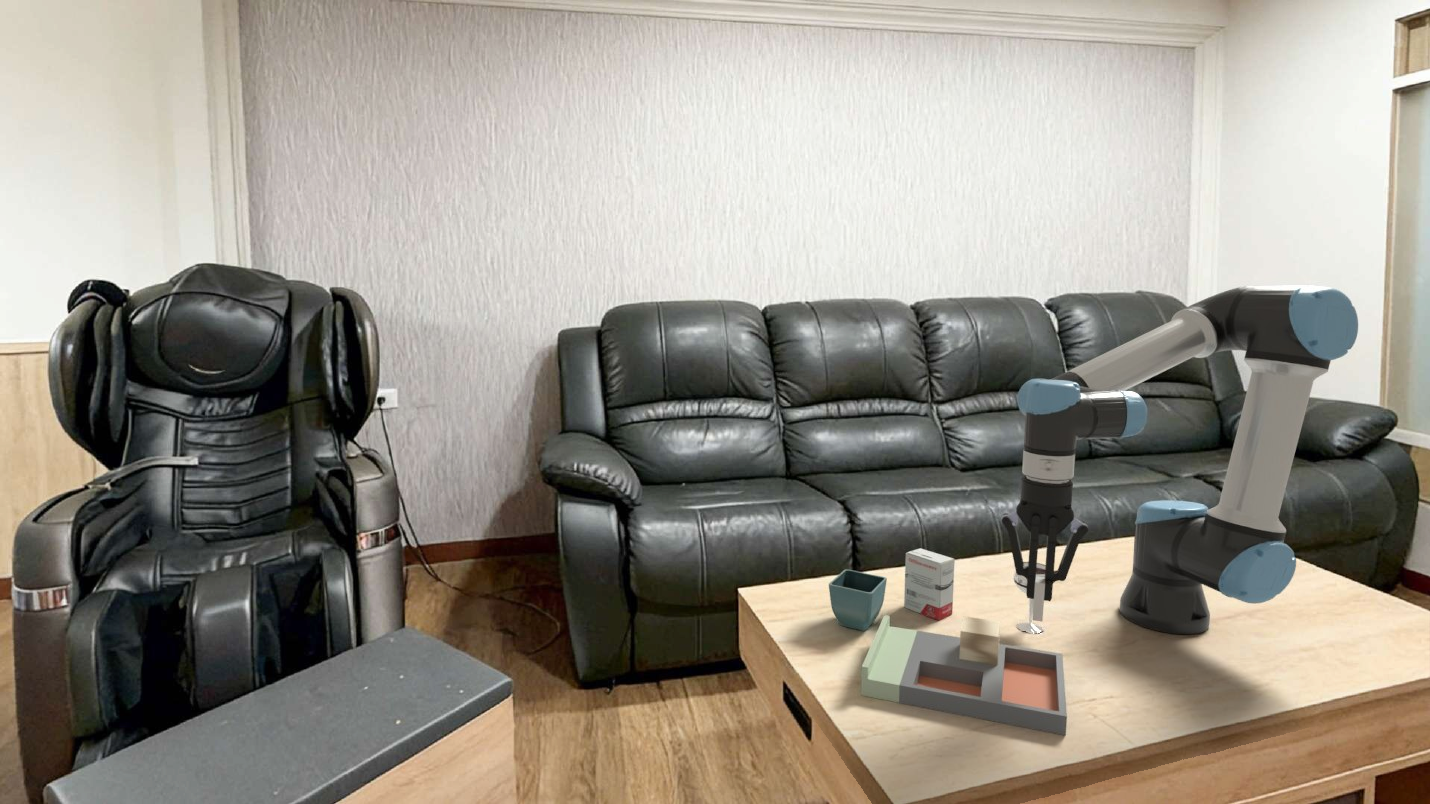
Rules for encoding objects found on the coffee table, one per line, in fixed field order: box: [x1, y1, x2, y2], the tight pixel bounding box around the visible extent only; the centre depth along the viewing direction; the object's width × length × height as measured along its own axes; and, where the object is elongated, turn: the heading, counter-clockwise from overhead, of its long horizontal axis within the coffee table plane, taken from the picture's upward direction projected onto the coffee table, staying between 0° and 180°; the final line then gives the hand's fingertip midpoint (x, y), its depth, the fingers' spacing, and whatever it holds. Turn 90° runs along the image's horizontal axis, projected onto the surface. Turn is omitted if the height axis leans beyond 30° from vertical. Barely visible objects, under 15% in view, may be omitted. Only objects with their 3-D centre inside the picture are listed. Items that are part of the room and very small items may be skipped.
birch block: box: [959, 616, 1001, 665], centre depth 128 cm, size 6×6×5 cm
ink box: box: [903, 547, 955, 621], centre depth 152 cm, size 8×5×12 cm, turn 39°
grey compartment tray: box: [860, 614, 1068, 736], centre depth 125 cm, size 30×20×5 cm, turn 67°
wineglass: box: [1013, 561, 1046, 635], centre depth 143 cm, size 7×7×12 cm
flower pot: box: [828, 569, 888, 632], centre depth 146 cm, size 9×9×9 cm
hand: (1037, 617), depth 124 cm, fingers closed
